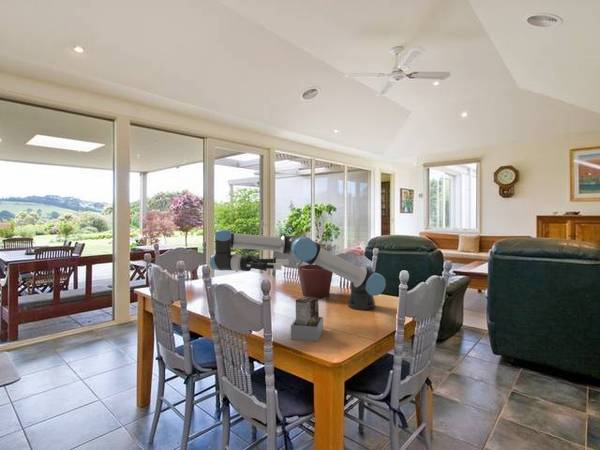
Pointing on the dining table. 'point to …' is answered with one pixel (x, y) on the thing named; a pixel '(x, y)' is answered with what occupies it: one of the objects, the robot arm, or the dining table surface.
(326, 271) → the bucket
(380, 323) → the dining table surface
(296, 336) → the grey well
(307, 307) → the coffee box
